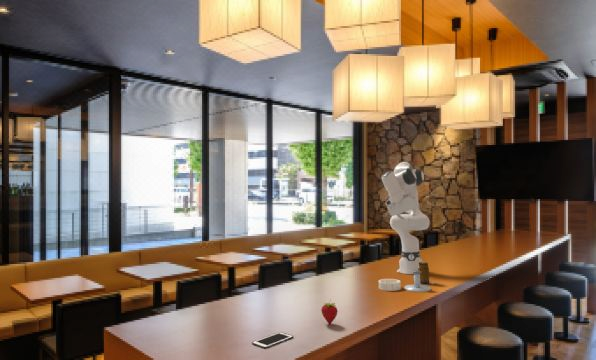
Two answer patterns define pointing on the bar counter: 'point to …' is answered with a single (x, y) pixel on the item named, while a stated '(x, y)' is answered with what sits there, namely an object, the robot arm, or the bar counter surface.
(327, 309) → the strawberry
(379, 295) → the bar counter surface
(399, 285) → the bowl
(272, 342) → the cell phone
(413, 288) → the lid
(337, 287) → the bar counter surface
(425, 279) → the condiment
